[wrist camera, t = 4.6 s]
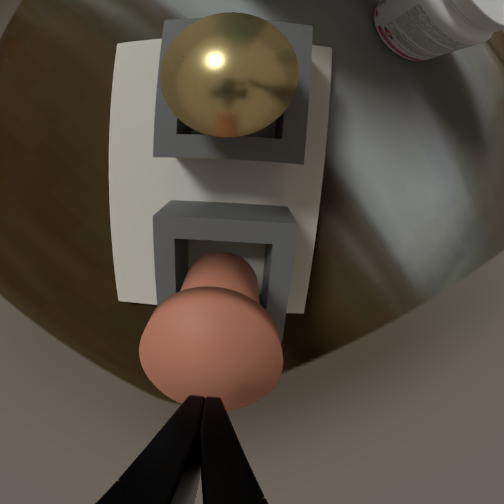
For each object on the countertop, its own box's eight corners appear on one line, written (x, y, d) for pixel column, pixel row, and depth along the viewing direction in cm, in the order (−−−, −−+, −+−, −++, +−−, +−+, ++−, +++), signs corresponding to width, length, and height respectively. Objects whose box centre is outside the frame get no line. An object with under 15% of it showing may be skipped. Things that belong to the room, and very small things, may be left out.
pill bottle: (443, 65, 14) (534, 46, 6) (381, 60, 14) (466, 22, 6) (426, 3, 13) (502, -38, 5) (363, -6, 13) (427, -69, 5)
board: (329, 50, 14) (352, 27, 10) (302, 308, 20) (314, 348, 16) (121, 46, 14) (89, 26, 10) (121, 296, 19) (97, 331, 15)
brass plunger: (283, 56, 13) (302, 18, 8) (277, 141, 15) (293, 142, 10) (193, 52, 13) (167, 14, 8) (186, 136, 15) (155, 136, 10)
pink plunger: (275, 242, 14) (292, 306, 9) (266, 328, 15) (274, 413, 10) (172, 236, 14) (130, 296, 8) (175, 323, 15) (149, 403, 10)
